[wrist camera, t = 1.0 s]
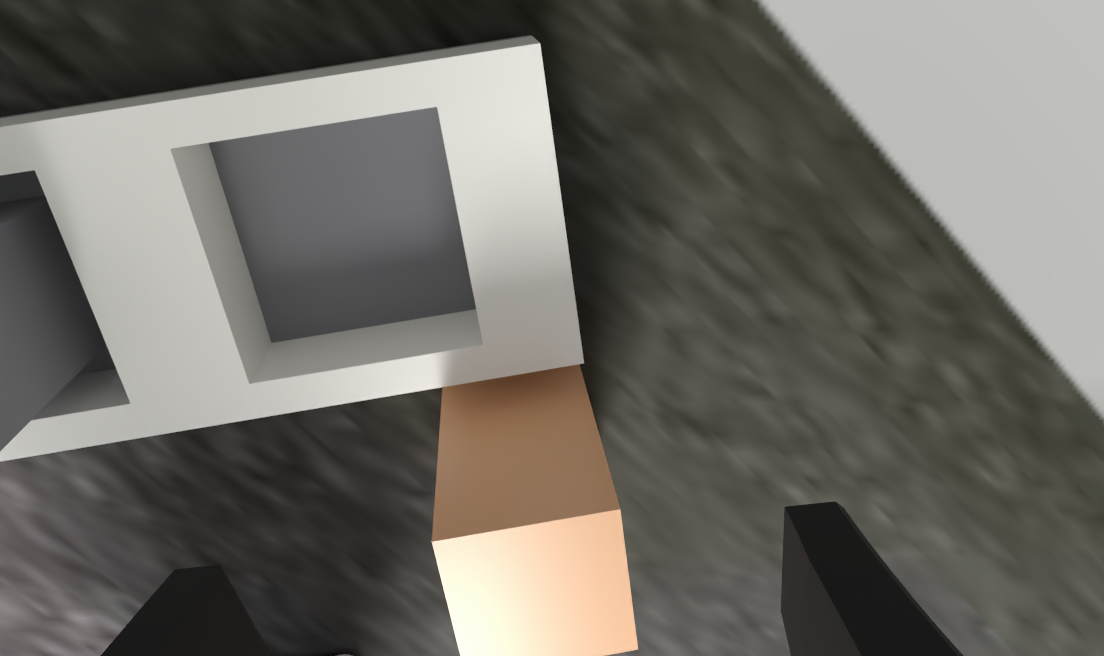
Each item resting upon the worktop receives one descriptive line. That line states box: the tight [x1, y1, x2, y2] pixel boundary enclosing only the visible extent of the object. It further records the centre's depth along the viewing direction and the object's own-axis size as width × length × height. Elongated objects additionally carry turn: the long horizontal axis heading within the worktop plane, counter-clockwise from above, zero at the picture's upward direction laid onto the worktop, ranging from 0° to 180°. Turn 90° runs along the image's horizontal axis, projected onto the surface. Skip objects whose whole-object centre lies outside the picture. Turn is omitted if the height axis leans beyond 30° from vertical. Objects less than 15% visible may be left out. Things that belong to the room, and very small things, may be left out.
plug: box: [432, 364, 638, 656], centre depth 21 cm, size 4×4×8 cm
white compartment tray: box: [0, 35, 584, 461], centre depth 20 cm, size 8×20×4 cm, turn 98°
